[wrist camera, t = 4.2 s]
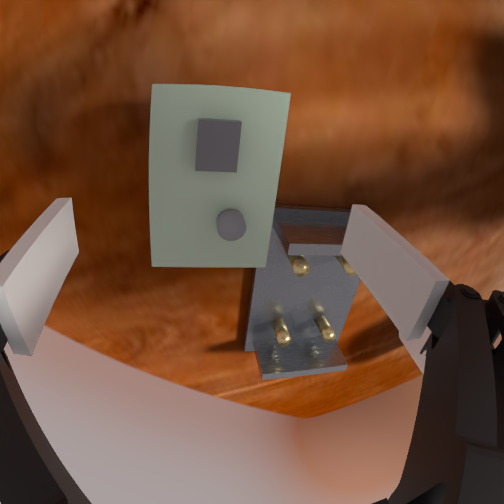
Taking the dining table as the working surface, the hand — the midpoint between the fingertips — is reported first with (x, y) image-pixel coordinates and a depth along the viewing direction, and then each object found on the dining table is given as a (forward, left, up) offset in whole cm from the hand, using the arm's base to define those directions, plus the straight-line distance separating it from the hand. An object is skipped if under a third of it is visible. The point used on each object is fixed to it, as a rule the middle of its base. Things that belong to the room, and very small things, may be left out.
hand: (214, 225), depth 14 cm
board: (0, 0, -8) cm, 8 cm away
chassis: (+13, +11, -13) cm, 22 cm away
